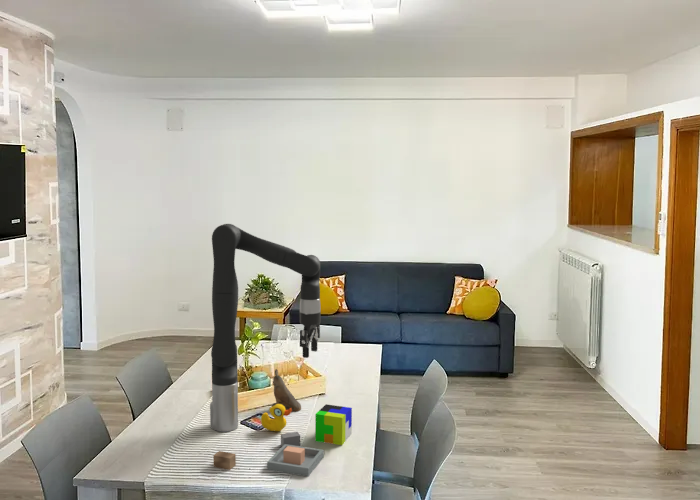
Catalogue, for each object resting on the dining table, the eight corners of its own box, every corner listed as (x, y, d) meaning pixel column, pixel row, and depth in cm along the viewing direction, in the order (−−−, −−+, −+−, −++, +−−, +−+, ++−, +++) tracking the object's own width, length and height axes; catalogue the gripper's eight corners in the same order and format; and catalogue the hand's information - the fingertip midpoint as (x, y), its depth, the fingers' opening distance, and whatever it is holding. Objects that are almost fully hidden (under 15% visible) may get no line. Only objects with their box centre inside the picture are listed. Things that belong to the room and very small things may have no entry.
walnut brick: (213, 467, 202) (213, 455, 201) (219, 462, 205) (219, 450, 204) (229, 470, 200) (229, 458, 199) (235, 465, 203) (235, 453, 202)
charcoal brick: (283, 449, 215) (283, 438, 215) (280, 445, 218) (280, 434, 218) (300, 446, 217) (300, 435, 217) (297, 442, 221) (297, 431, 220)
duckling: (293, 428, 232) (293, 402, 231) (290, 434, 227) (290, 407, 226) (263, 426, 234) (263, 400, 233) (259, 432, 228) (259, 406, 227)
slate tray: (267, 469, 200) (267, 461, 200) (284, 451, 213) (284, 444, 213) (308, 476, 196) (308, 468, 195) (323, 457, 209) (323, 449, 209)
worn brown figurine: (271, 416, 250) (261, 373, 248) (274, 411, 256) (265, 368, 254) (299, 412, 248) (290, 368, 246) (302, 407, 254) (293, 364, 252)
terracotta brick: (283, 462, 204) (283, 450, 203) (287, 457, 207) (287, 446, 207) (300, 464, 202) (300, 453, 202) (304, 460, 205) (304, 448, 205)
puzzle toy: (351, 434, 228) (351, 407, 227) (342, 445, 218) (342, 417, 217) (325, 430, 231) (325, 404, 230) (315, 441, 222) (315, 414, 220)
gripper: (307, 306, 235) (307, 348, 237) (292, 313, 222) (292, 358, 224) (326, 307, 233) (326, 350, 235) (312, 315, 220) (312, 360, 221)
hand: (310, 354), depth 229 cm, fingers open, 8 cm apart
